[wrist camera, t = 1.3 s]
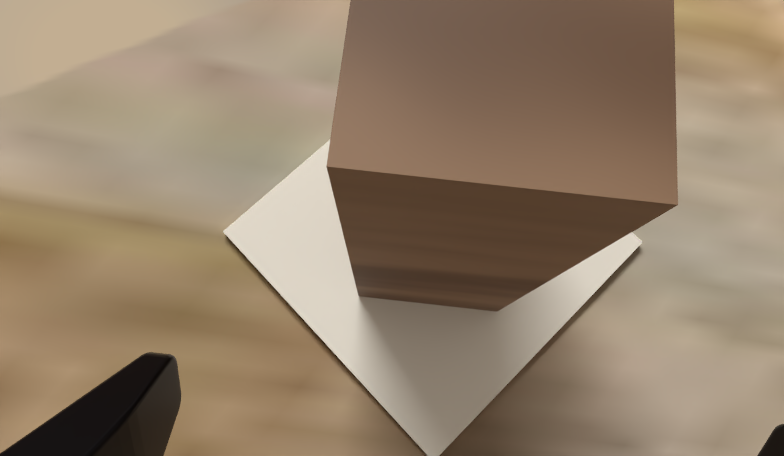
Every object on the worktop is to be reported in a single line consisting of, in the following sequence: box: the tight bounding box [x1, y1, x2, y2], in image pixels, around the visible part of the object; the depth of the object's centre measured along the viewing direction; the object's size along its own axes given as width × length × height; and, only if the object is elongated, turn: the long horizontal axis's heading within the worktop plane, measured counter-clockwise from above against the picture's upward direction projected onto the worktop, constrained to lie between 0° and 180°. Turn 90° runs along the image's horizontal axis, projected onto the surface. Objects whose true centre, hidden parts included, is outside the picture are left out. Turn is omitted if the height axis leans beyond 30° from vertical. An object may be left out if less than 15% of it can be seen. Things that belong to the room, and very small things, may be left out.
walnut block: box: [326, 0, 678, 312], centre depth 15 cm, size 5×5×13 cm
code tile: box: [223, 140, 642, 456], centre depth 22 cm, size 11×11×1 cm
